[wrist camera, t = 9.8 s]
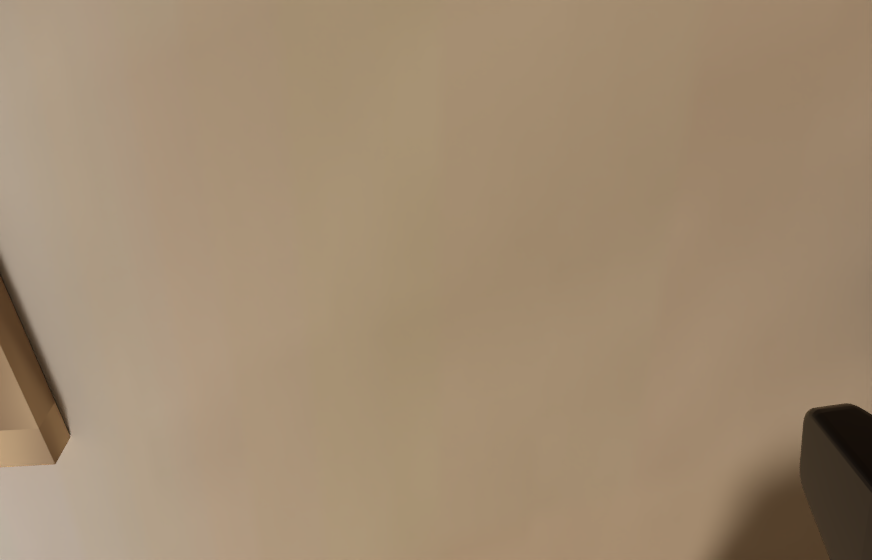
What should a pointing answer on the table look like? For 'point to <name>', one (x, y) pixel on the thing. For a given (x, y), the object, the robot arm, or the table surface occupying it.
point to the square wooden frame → (25, 399)
